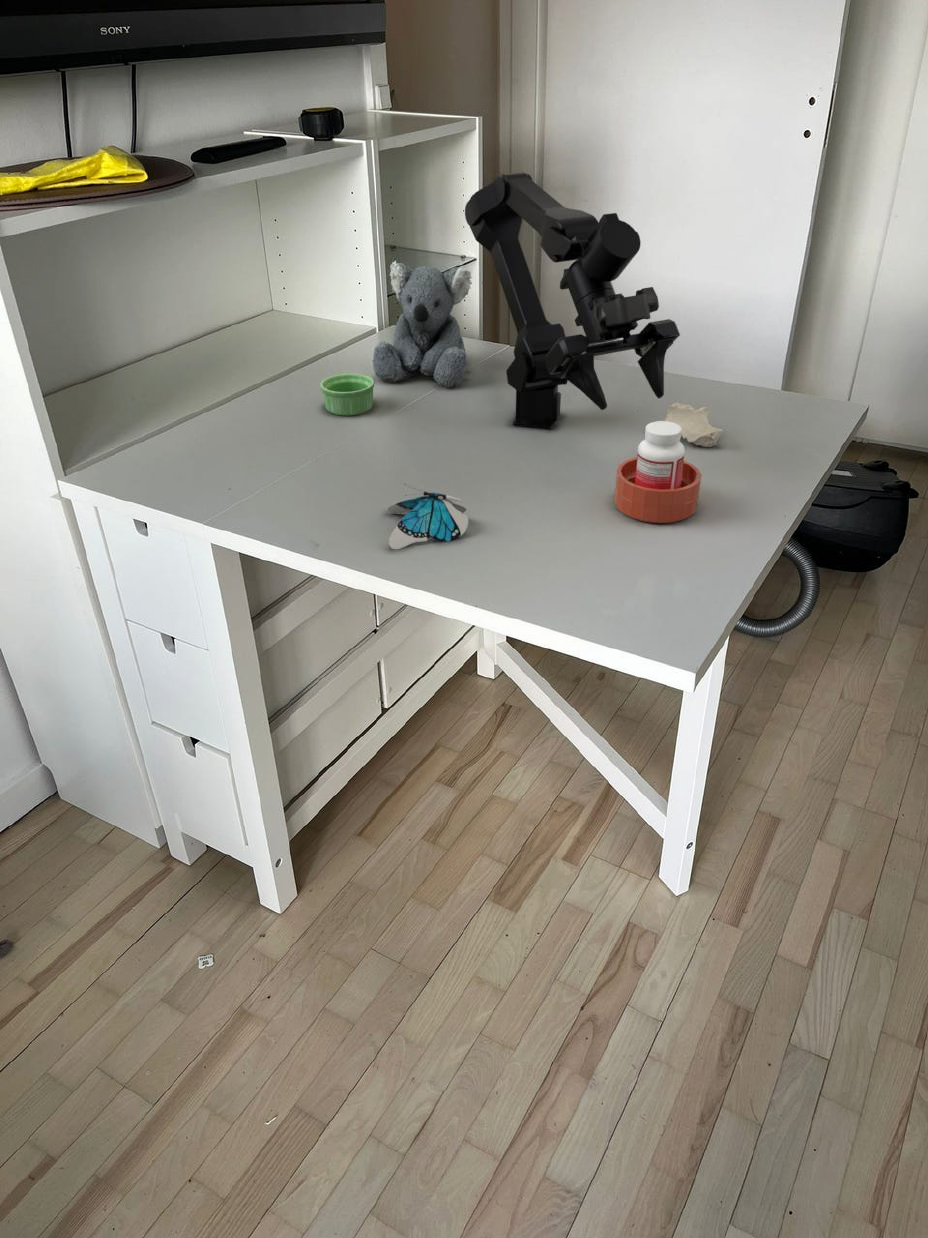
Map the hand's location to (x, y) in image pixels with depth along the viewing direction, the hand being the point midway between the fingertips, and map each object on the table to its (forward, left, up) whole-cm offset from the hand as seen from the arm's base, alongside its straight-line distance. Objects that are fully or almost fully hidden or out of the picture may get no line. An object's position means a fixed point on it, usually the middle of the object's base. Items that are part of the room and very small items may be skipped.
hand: (633, 402), depth 131 cm
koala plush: (-43, +38, -13) cm, 59 cm away
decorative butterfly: (-23, -20, -13) cm, 33 cm away
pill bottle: (+5, -5, -12) cm, 14 cm away
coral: (+7, +20, -13) cm, 24 cm away
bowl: (+5, -5, -12) cm, 14 cm away
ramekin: (-50, +17, -13) cm, 54 cm away
